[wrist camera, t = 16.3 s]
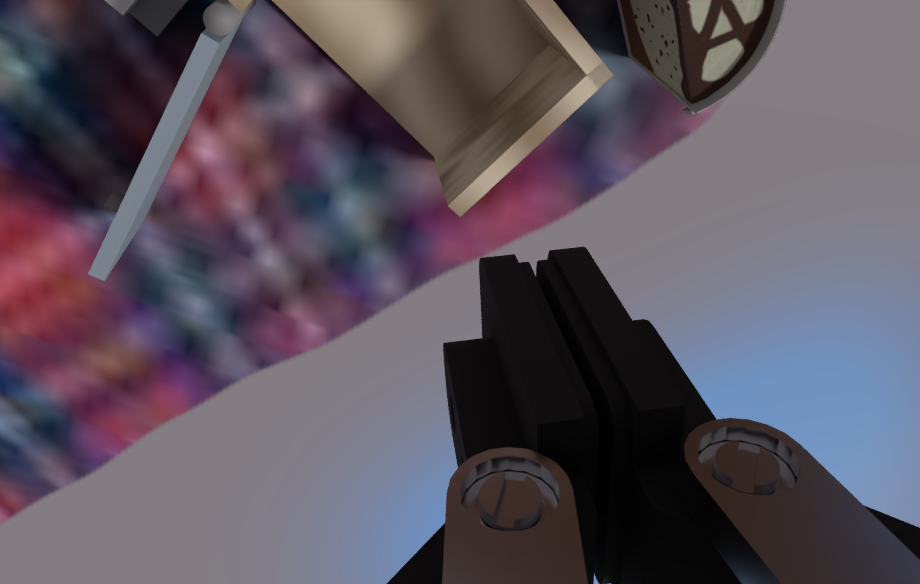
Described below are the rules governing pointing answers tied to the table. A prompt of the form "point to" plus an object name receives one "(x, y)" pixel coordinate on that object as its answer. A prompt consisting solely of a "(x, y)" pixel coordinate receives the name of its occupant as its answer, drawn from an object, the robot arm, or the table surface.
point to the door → (169, 133)
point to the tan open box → (460, 75)
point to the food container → (699, 43)
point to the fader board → (150, 12)
